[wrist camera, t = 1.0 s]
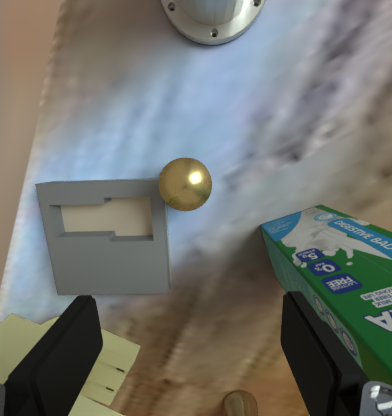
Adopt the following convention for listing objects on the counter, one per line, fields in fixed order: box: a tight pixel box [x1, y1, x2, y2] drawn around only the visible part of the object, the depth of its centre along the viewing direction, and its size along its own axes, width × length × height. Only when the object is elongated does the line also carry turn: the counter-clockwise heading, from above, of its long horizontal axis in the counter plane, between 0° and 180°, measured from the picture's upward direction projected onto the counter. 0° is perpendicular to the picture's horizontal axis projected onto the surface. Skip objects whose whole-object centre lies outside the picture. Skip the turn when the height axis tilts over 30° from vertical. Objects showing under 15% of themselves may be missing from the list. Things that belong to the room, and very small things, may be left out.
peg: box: [159, 158, 212, 211], centre depth 25 cm, size 5×5×9 cm
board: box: [35, 178, 172, 295], centre depth 30 cm, size 16×16×3 cm
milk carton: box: [260, 205, 392, 386], centre depth 19 cm, size 9×9×25 cm
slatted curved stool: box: [0, 313, 141, 416], centre depth 28 cm, size 30×16×18 cm, turn 153°
